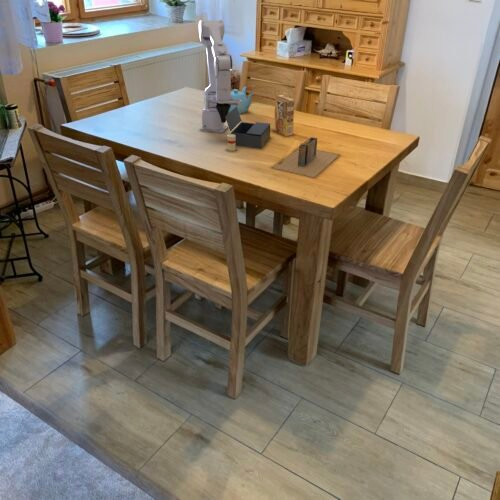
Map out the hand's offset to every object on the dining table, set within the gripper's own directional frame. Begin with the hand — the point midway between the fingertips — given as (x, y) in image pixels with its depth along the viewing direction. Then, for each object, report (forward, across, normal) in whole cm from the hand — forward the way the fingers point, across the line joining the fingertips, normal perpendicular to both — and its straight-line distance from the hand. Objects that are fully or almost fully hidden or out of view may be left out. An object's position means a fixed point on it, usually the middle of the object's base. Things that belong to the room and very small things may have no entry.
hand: (223, 122), depth 203 cm
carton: (+8, +10, +4) cm, 14 cm away
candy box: (+9, +21, +19) cm, 30 cm away
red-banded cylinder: (+8, +6, -8) cm, 13 cm away
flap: (-1, +3, +4) cm, 5 cm away
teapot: (+9, -8, +44) cm, 46 cm away
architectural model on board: (+9, +37, -10) cm, 39 cm away
